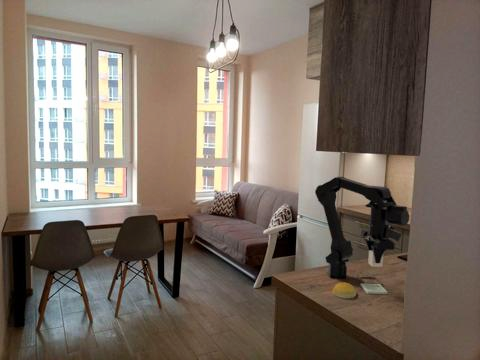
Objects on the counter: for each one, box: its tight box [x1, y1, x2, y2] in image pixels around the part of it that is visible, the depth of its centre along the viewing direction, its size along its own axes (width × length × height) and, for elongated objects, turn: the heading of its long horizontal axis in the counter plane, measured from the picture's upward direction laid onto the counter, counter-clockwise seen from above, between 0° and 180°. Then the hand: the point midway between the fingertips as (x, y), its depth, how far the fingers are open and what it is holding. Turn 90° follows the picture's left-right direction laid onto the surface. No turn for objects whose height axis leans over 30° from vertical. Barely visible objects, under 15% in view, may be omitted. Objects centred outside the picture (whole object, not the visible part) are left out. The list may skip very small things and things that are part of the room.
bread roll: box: [331, 281, 357, 299], centre depth 131 cm, size 8×9×4 cm
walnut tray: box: [357, 275, 384, 287], centre depth 143 cm, size 7×7×1 cm
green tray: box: [360, 282, 388, 295], centre depth 135 cm, size 7×7×1 cm
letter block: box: [367, 250, 385, 268], centre depth 134 cm, size 4×4×5 cm
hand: (375, 261), depth 134 cm, fingers closed on letter block, 4 cm apart
